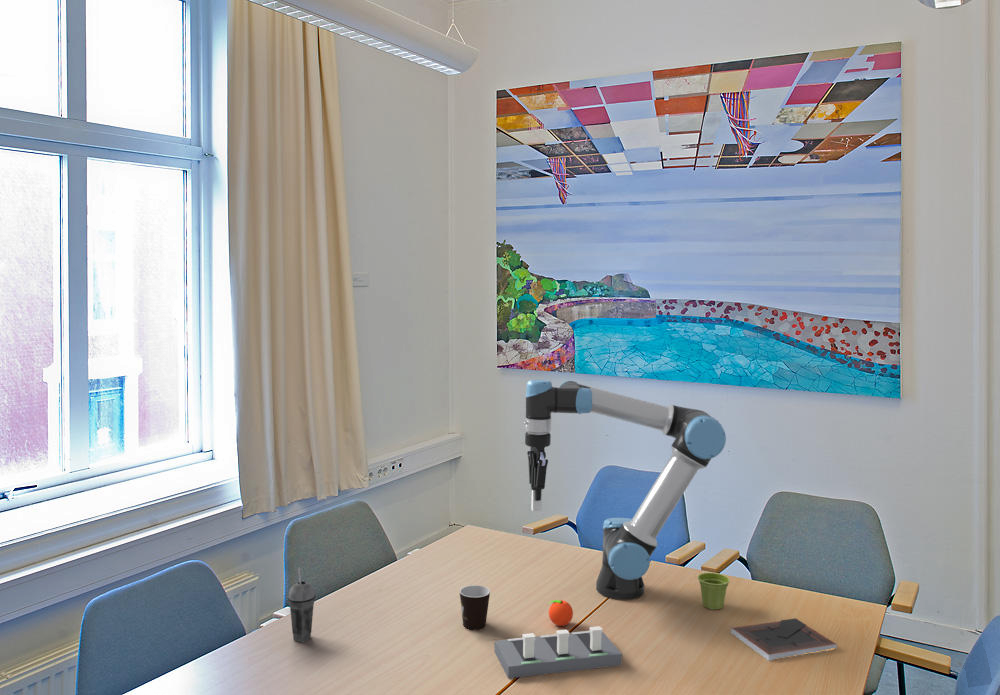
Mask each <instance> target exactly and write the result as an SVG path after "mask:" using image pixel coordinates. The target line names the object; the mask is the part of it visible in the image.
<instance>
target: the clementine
mask: <svg viewBox="0 0 1000 695" xmlns="http://www.w3.org/2000/svg"><path fill="white" fill-rule="evenodd" d="M550 603H552V604H550ZM548 604H550V607H549V609H548V617H549V619H550V621H551V623H553V624H554V625H556V626H558V627H564V626H566V625H568V624H570V622H572V619H573V617H574V611H573V607H572V605H571V604H570V603H569V602H568V601H566V600H563V599H555V600H551V601H548Z"/></svg>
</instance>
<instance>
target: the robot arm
mask: <svg viewBox="0 0 1000 695" xmlns="http://www.w3.org/2000/svg"><path fill="white" fill-rule="evenodd" d="M552 383H553V382H552V381H551V380H548V379H531V380H529V381H527V382H526V387H525V388H526V392H525V421H524V422H523V425H525V431H526V432H525V433H524V434H525V436H524V438H525V440H524V444H525V445H526V447H530V450H528V451H527V453H526V454H527V460H528V481H529V482H528V483H529V484H530V487H531V488H530V490H531V502H530V503H531V511H532V512H539V511H541V512H542V505H543V504H542V503H543V502H542V501H543V500H542V497H543V490H545V486H546V478H547V477H546V476H547V469H548V468H547V467H548V464H549V459H546V457H547V456H546V455H547V454H546V453H547V452H546V451H545V448H546V447H549V446H551V436H552V435H551V433H550V432H551V431H552V414H553V413H555V414H556V413H557V414H579V415H581V414H590V413H593V414H597V415H602V416H606V417H607V418H608V417H609V418H611V419H612V418H613V419H617V420H620V421H625V422H628V423H631V424H636V425H638V426H643V427H647V428H651V429H655V430H658V431H661V433H662V434H663V435H664V436H667V437H672V438H673V439H674V440H673V442H672V444H671V446H670V448H671V452H672V454H671V455H670V457H669V458H668V460H667V461H666V463H665V465H664V467H662V470H661V472H660V473H659V475H658V476H657V478H656V479H655V481H654V483H653V484H652V486H651V488H650V490H649V491H648V493H647V494H646V496H645V498H644V499H643V501H642V503H641V504H640V506H639V507H638V509H637V511H636V512H635V514H634V515H633V517H632V518H630V517H629V518H627V517H610V518H606V519H605V520H604V521H603V526H602V530H603V533H602V535H603V536H602V537H603V538H602V563H601V564H602V565H601V568H600V571H599V573H598V576H597V580H596V583H595V584H596V585H595V587H596V588H595V590H596V591H597V592H598V594H599V595H602V596H603V597H606V598H609V599H613V600H622V601H623V600H624V601H626V600H634V599H638V598H640V597H642V596H644V594H645V582H644V579H643V576H645V574H646V573H647V572H648V570H649V568H650V565H651V564H650V563H651V556H652V554H654V551H655V550H656V548H657V547H658V542H657V536H658V535H659V534H660V532H661V530H662V529H663V527H664V526H665V523H667V520H668V519H669V517H670V516H671V515H672V513H673V511H674V510H675V508H676V506H677V504H678V503H679V501H680V499H681V498H682V496H683V494H684V493H685V492H686V490H687V489H688V487H689V485H690V484H691V482H692V480H693V479H694V477H695V475H696V474H697V473H698V471H699V470H700V469H705V468H707V466H708V465H709V463H710V462H711V460H712V459H714V458H716V457H718V456H719V455H720V454H721V453H722V451H723V450H724V448H725V446H726V442H727V441H726V440H727V437H726V432H725V429H724V427H723V425H722V424H721V423H720V421H719V420H718V419H716V418H715V417H713V416H711V415H710V413H709V414H708V412H706V411H704V410H701V409H700V410H699V409H695V408H688V407H683V406H678V405H674V404H669V405H668V406H665V405H661V404H658V403H653V402H650V401H646V400H641V399H638V398H634V397H631V396H627V395H626V396H625V395H623V394H618V393H615V392H610V391H607V390H604V389H603V390H602V389H599V388H595V387H592V386H588V385H584V384H580V383H578V382H577V381H573V380H567V381H564V382H562V383H561V384H560V386H559V387H555V386H553V384H552Z"/></svg>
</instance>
